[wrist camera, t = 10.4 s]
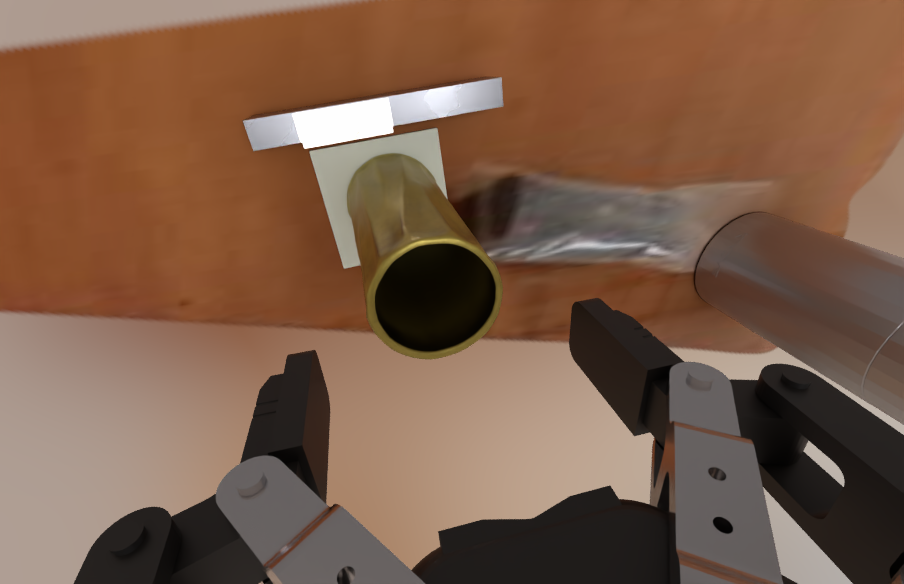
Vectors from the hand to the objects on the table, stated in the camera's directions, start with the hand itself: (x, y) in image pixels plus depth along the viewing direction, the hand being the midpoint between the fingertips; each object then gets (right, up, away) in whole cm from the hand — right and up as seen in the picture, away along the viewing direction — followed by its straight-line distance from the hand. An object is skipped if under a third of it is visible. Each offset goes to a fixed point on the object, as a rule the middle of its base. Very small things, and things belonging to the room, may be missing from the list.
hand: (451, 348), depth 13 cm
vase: (-4, +8, +15) cm, 17 cm away
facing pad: (-4, +8, +15) cm, 18 cm away
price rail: (-5, +13, +12) cm, 18 cm away
